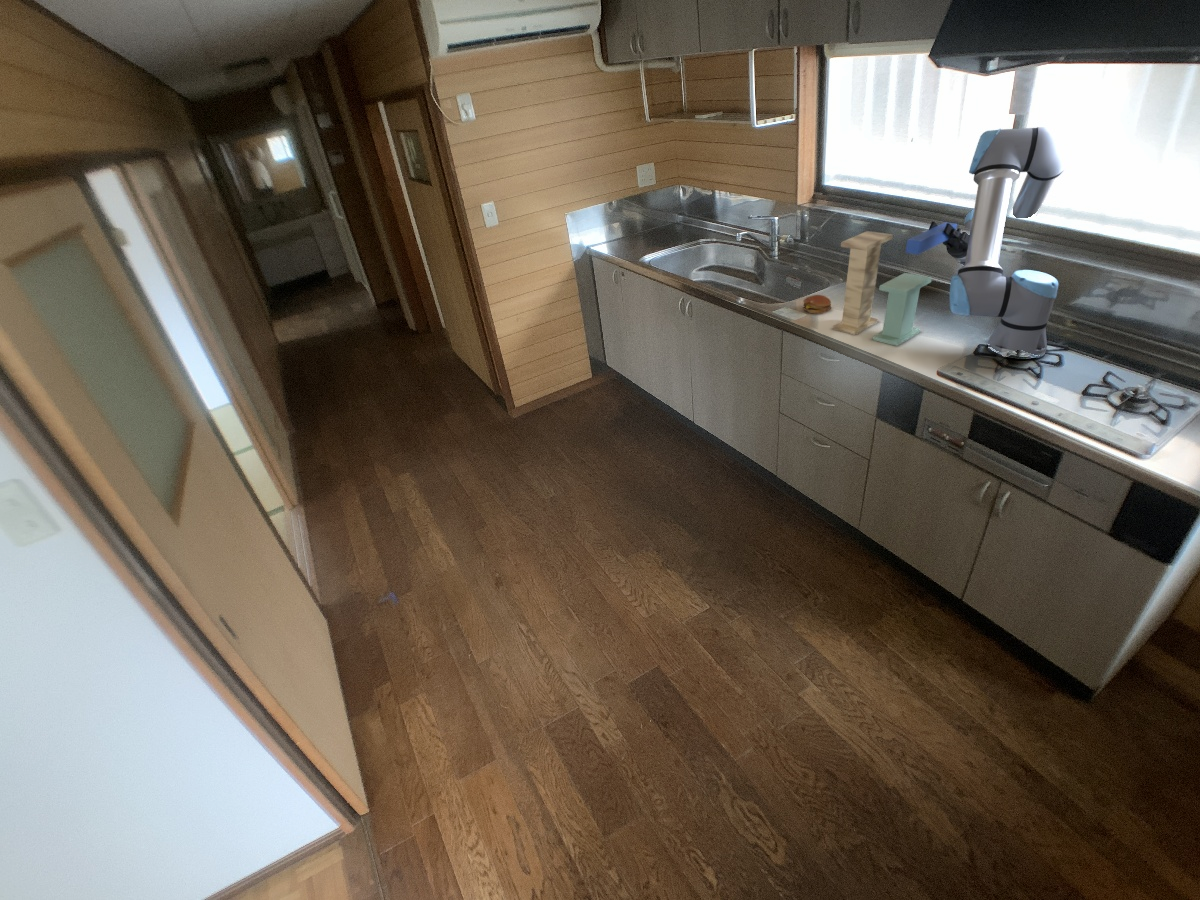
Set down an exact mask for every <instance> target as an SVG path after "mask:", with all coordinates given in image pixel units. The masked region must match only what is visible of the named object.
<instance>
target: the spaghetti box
mask: <svg viewBox="0 0 1200 900" xmlns="http://www.w3.org/2000/svg"><path fill="white" fill-rule="evenodd" d="M947 223H949V224H950V225H951V226H953V227H954V228H955V229H956V230H957V228H958V223H953V222H946V221H945V222H942V223H940V224H937V225H938V226H936V227H934V228H932V229H930V230H929V229H928V230H925V231H923V232H921V233H919V234H916V235H915V236H913V237H910V238H909V239H907V241H906V246H905V247H906V248H905V251H904V252H905V254H911V255H916V256H917V255H920V254H922V253H924V252H926V251H929V250H931V249H932V248H934V247H936V246H939V245H940V244H943V242H944V241H946V240H948V239H950V238H949V237H948V236H947V235H946V234H945V233H944V232H943V231H944V229H945V227H946V224H947Z"/></svg>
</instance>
